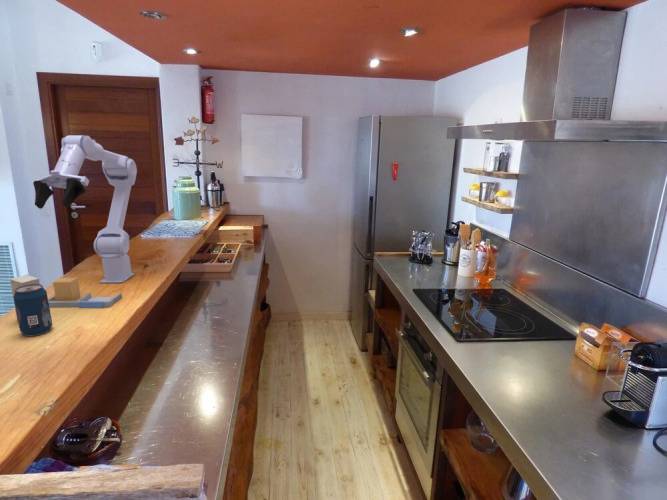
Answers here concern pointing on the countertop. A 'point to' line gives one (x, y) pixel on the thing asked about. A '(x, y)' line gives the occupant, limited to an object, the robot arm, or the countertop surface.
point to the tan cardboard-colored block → (66, 289)
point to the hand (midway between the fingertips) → (51, 205)
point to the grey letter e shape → (86, 301)
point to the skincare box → (22, 282)
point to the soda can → (32, 309)
